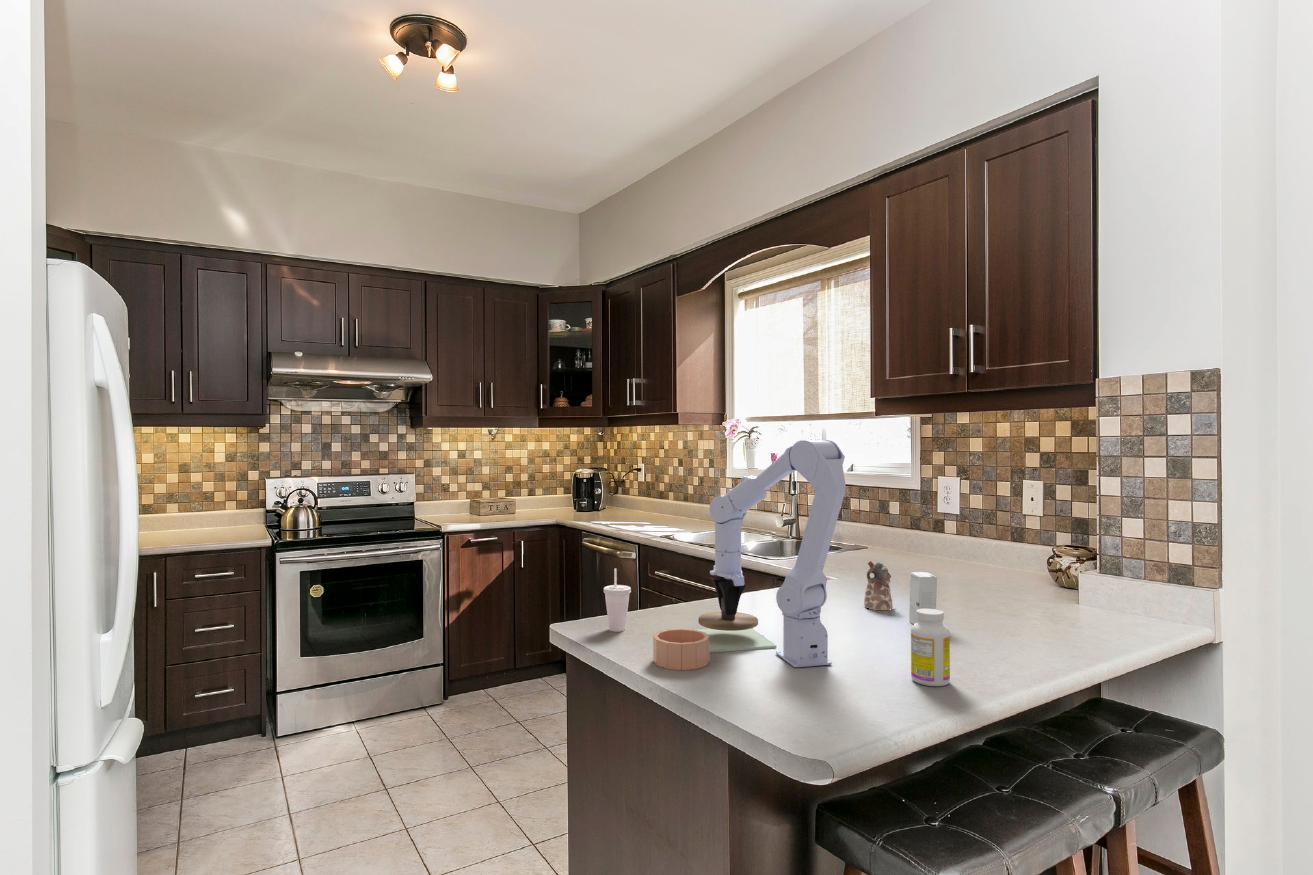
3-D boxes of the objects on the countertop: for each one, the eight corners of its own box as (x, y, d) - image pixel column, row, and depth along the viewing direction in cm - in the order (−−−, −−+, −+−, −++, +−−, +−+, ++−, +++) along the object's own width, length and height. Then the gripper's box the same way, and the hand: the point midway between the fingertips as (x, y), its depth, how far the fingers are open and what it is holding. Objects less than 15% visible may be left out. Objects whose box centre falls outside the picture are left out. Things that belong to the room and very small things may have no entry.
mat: (776, 647, 154) (776, 645, 154) (704, 653, 150) (704, 650, 150) (749, 628, 169) (749, 625, 169) (682, 632, 165) (682, 630, 165)
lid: (767, 628, 155) (767, 603, 155) (709, 632, 152) (709, 606, 152) (745, 613, 167) (745, 590, 167) (691, 616, 164) (691, 593, 164)
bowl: (715, 667, 141) (715, 641, 141) (661, 671, 138) (661, 645, 138) (699, 651, 151) (699, 627, 151) (648, 654, 149) (648, 630, 148)
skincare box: (908, 621, 175) (908, 571, 175) (926, 621, 175) (926, 571, 175) (918, 628, 169) (918, 576, 169) (937, 628, 169) (937, 576, 169)
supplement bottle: (940, 675, 136) (940, 606, 136) (956, 687, 130) (956, 615, 130) (905, 675, 136) (905, 606, 136) (919, 687, 130) (919, 615, 130)
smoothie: (616, 624, 172) (616, 565, 172) (636, 629, 168) (636, 568, 168) (597, 629, 167) (597, 569, 167) (618, 634, 163) (618, 572, 163)
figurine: (886, 612, 184) (887, 565, 184) (859, 608, 189) (859, 562, 189) (896, 607, 190) (896, 561, 190) (870, 603, 194) (870, 558, 194)
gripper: (700, 546, 166) (700, 606, 166) (721, 556, 151) (721, 621, 151) (730, 545, 167) (730, 604, 167) (753, 555, 153) (753, 619, 153)
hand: (728, 612), depth 159 cm, fingers closed on lid, 3 cm apart
